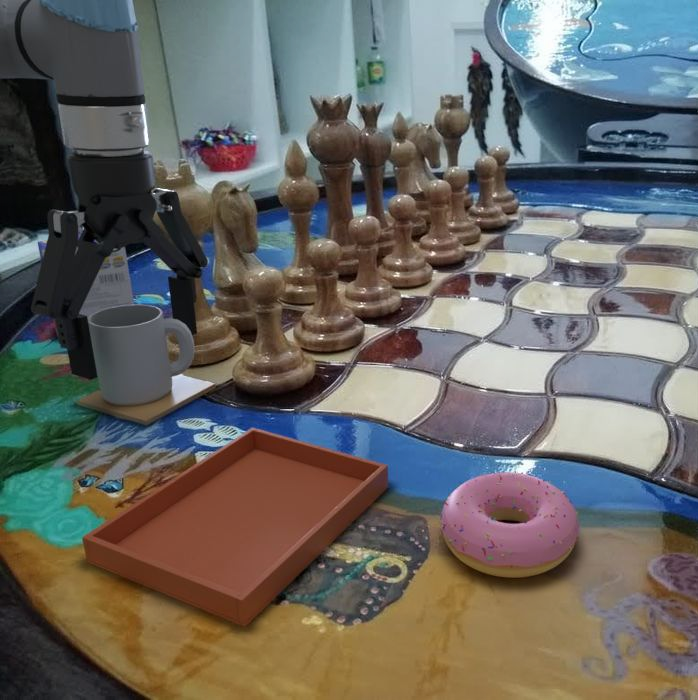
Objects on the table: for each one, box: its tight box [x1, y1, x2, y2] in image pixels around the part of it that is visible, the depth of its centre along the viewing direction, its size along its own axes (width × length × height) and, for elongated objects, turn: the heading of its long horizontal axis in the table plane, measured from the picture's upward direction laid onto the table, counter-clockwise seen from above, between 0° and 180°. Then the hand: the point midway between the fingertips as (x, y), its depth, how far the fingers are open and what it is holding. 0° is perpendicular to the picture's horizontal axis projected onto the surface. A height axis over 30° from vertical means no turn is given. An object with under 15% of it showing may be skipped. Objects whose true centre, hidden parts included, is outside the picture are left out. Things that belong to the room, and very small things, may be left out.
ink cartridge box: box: [37, 229, 135, 337], centre depth 96 cm, size 10×6×14 cm, turn 124°
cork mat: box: [76, 374, 217, 427], centre depth 80 cm, size 10×10×1 cm
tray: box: [81, 427, 389, 628], centre depth 60 cm, size 15×19×2 cm
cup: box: [88, 303, 196, 406], centre depth 79 cm, size 7×10×9 cm
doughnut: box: [438, 470, 580, 579], centre depth 58 cm, size 11×11×4 cm
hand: (139, 352), depth 79 cm, fingers open, 13 cm apart
